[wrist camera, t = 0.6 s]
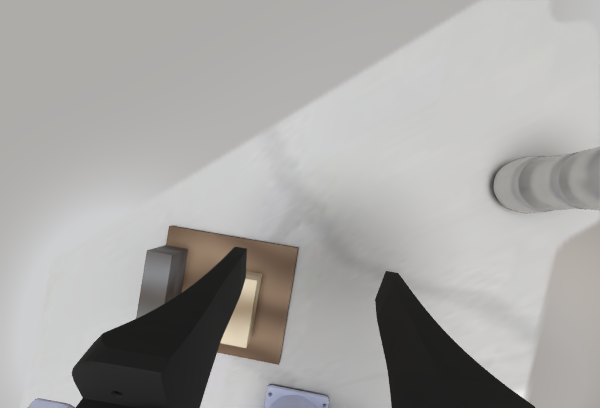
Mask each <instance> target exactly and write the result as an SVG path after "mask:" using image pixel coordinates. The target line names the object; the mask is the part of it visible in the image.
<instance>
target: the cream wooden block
mask: <svg viewBox="0 0 600 408" xmlns="http://www.w3.org/2000/svg"><path fill="white" fill-rule="evenodd" d="M261 278H262V274H259V273H254V272H248V271H246V279H245V282H244V286H243V289H242V292H241V295H240V298H239V300H238V303H237V305H236V307H235V309H234V312H233V314H232V316H231V319H230V321H229V323H228V325H227V328H226V330H225V332H224V334H223V337H222V340H221V342H220V343H222V344H227V345H232V346H237V347H243V348H246V347H247V345H248V343H249V341H250V339H251V337H252V333H253V327H254V321H255V314H256V308H257V302H258V296H259V290H260V284H261Z"/></svg>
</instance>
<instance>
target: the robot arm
mask: <svg viewBox="0 0 600 408" xmlns="http://www.w3.org/2000/svg"><path fill="white" fill-rule="evenodd" d="M246 262H247V248H241V247H234V248H233V249H232V250H231V251H230V252H229V253H228V254H227V255H226V256H225V257H224V258H223V259H222V260H221V261H220V262H219V263H218V264H217V265H215V266H214V267H213V268H212V269H211V270H210V271H209V272H208V273H207V274H205V275H204V276H203V277H202V278H200V279H199V280H198V281H197V282H195V283H194V284H193V285H192V286H190V287H189V288H188V289H186V290H185V291H183V292H182V293H180V294H179V295H177V296H176V297H174V298H173V299H171V300H170V301H168V302H166V303H165V304H163V305H161V306H160V307H158V308H156V309H154V310H153V311H151V312H149V313H147V314H145V315H143V316H141V317H139V318H137V319H135V320H133V321H131V322H129V323H126V324H124V325H122V326H119V327H117V328H115V329H112V330H110V331H107V332H105V333H103V334H102V335H101V336H100V337H99V338H98V339H97V340H96V341H95V342H94V343H93V345H92V346H91V347H90V348H89V349H88V351H87V352H86V353H85V354H84V355H83V357H82V358H81V359H80V360H79V362H78V363H77V364H76V365H75V366H74V368H73V371H72V376H73V379H74V382H75V384H76V386H77V388H78V389H79V391H80V393H81V395H82V397H83V399H82V400H81V401H80V403H79V404H78V405H77V407H76V408H200V405H201V401H202V398H203V395H204V391H205V388H206V385H207V382H208V379H209V375H210V372H211V369H212V366H213V363H214V360H215V357H216V354H217V351H218V348H219V345H220V342H221V340H222V337H223V334H224V332H225V330H226V328H227V325H228V323H229V321H230V319H231V316H232V314H233V312H234V309H235V307H236V305H237V303H238V300H239V298H240V295H241V292H242V289H243V286H244V282H245V279H246ZM375 301H376V313H377V321H378V326H379V331H380V336H381V340H382V345H383V349H384V354H385V359H386V363H387V369H388V376H389V385H390V393H391V403H392V408H535V407H534V406H533V405H532V404H530V403H529V402H527V401H526V400H525V399H523V398H522V397H520V396H519V395H518V394H516V393H515V392H514V391H512V390H511V389H509V388H508V387H507V386H505V385H504V384H503V383H502V382H500V381H499V380H498V379H497V378H495V377H494V376H493V375H492V374H490V373H489V372H488V371H487V370H485V369H484V368H483V367H482V366H481V365H479V364H478V363H477V362H476V361H475V360H474V359H473V358H472V357H470V356H469V355H468V354H467V353H466V352H465V351H464V350H463V349H462V348H461V347H460V346H459V345H458V344H457V343H456V342H455V341H454V340H453V339H452V338H451V337H450V336H449V335H448V334H447V333H446V332H445V331H444V330H443V329H442V328H441V327H440V326H439V325H438V323H437V322H436V321H435V320H434V319H433V318H432V317H431V315H430V314H429V313H428V312H427V311H426V309H425V308H424V307H423V306H422V304H421V303H420V302H419V301H418V299H417V298H416V297H415V295H414V294H413V293H412V291H411V290H410V289H409V287H408V286H407V285H406V283H405V282H404V280H403V279H402V278H401V276H400V275H399V274H398V273H394V272H388V271H386V273H385V275H384V278H383V280H382V283H381V286H380V288H379V291H378V294H377V296H376V299H375ZM269 392H271V393H272V394H269ZM323 403H325V404H326V405H323ZM328 405H329V398H328V397H327V396H325V395H320V394H315V393H310V392H305V391H300V390H295V389H289V388H284V387H279V386H274V385H269V386H268V388H267V392H266V398H265V405H264V408H328ZM28 408H75V407H74V406H72V405H70V404H67V403H62V402H57V401H51V400H45V399H40V398H38V399H35V400H34V401H33V402H32V403H31V404H30V405H29V407H28Z"/></svg>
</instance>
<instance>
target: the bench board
mask: <svg viewBox="0 0 600 408" xmlns="http://www.w3.org/2000/svg"><path fill="white" fill-rule="evenodd" d="M234 247H241V248H247V262H246V271H248V272H254V273H259V274H262V278H261V284H260V290H259V296H258V302H257V308H256V314H255V321H254V327H253V333H252V337H251V339H250V341H249V343H248V345H247V347H246V348H243V347H237V346H232V345H227V344H222V343H220V345H219V348H218V351H217V353H223V354H228V355H233V356H238V357H243V358H248V359H253V360H258V361H264V362H269V363H274V364H279V362H280V356H281V350H282V344H283V338H284V332H285V326H286V319H287V313H288V307H289V301H290V295H291V289H292V283H293V277H294V271H295V265H296V258H297V252H298V248H297V247H291V246H285V245H280V244H274V243H268V242H262V241H256V240H251V239H245V238H239V237H233V236H227V235H222V234H216V233H210V232H204V231H198V230H193V229H187V228H181V227H175V226H169V230H168V237H167V243H166V245H165V246H162V247H158V248H154V249H151V250H147V254H146V260H145V266H144V273H143V279H142V285H141V292H140V298H139V304H138V311H137V317H136V319H137V318H139V317H141V316H143V315H145V314H147V313H149V312H151V311H153V310H154V309H156V308H158V307H160V306H161V305H163V304H165V303H166V302H168V301H170V300H171V299H173V298H174V297H176V296H177V295H179V294H180V293H182V292H183V291H185V290H186V289H188V288H189V287H190V286H192V285H193V284H194V283H195V282H197V281H198V280H199V279H200V278H202V277H203V276H204V275H205V274H207V273H208V272H209V271H210V270H211V269H212V268H213V267H214V266H215V265H217V264H218V263H219V262H220V261H221V260H222V259H223V258H224V257H225V256H226V255H227V254H228V253H229V252H230V251H231V250H232V249H233V248H234Z"/></svg>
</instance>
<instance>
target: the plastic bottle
mask: <svg viewBox="0 0 600 408" xmlns="http://www.w3.org/2000/svg"><path fill="white" fill-rule="evenodd" d="M493 186H494V192H495V195H496V197H497V199H498V200H499V201H500V203H501V204H503V205H504V206H505V207H507V208H509V209H511V210H514V211H518V212H522V213H541V212H547V211H552V210H562V209H590V210H600V147H597V148H593V149H589V150H585V151H581V152H577V153H573V154H566V155H558V156H549V157H544V156H537V157H524V158H520V159H517V160H515V161H513V162H510V163H508V164H506V165H505V166H503V167H502V168H501V169H500V170H499V171H498V173H497V174H496V176H495V179H494V185H493Z"/></svg>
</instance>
